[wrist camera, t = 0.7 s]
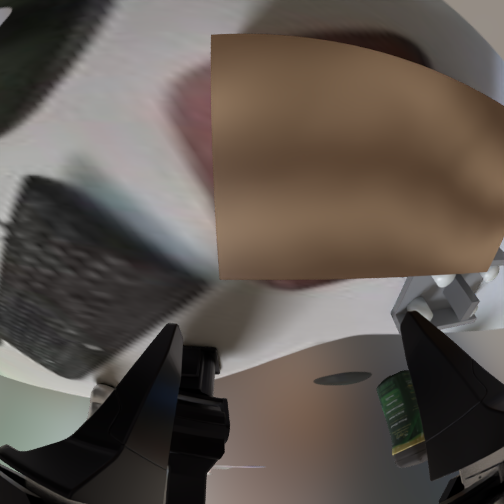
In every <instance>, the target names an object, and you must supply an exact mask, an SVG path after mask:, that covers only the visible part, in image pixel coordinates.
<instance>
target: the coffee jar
mask: <svg viewBox="0 0 504 504" xmlns="http://www.w3.org/2000/svg"><path fill="white" fill-rule="evenodd" d="M377 393H378V396H379V399H380V402H381V405H382V408H383V411H384V414H385V417H386V421H387V424H388V428H389V431H390V435H391V440H392V454H393V457H394V460H395V464H396V466H398V467H401V468H405V467H409V466H413V465H417V464H420V463H422V462H425V461H427V460H428V458H427V451H426V445H425V439H424V433H423V428H422V423H421V418H420V413H419V408H418V404H417V400H416V395H415V391H414V387H413V383H412V380H411V376H410V372H409V370H404V371H400V372H398V373H396V374H394V375H392V376H389V377H387V378H386V379H385V380H383V381H382V382H381V384H380V385H379V386H378V387H377Z"/></svg>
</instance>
